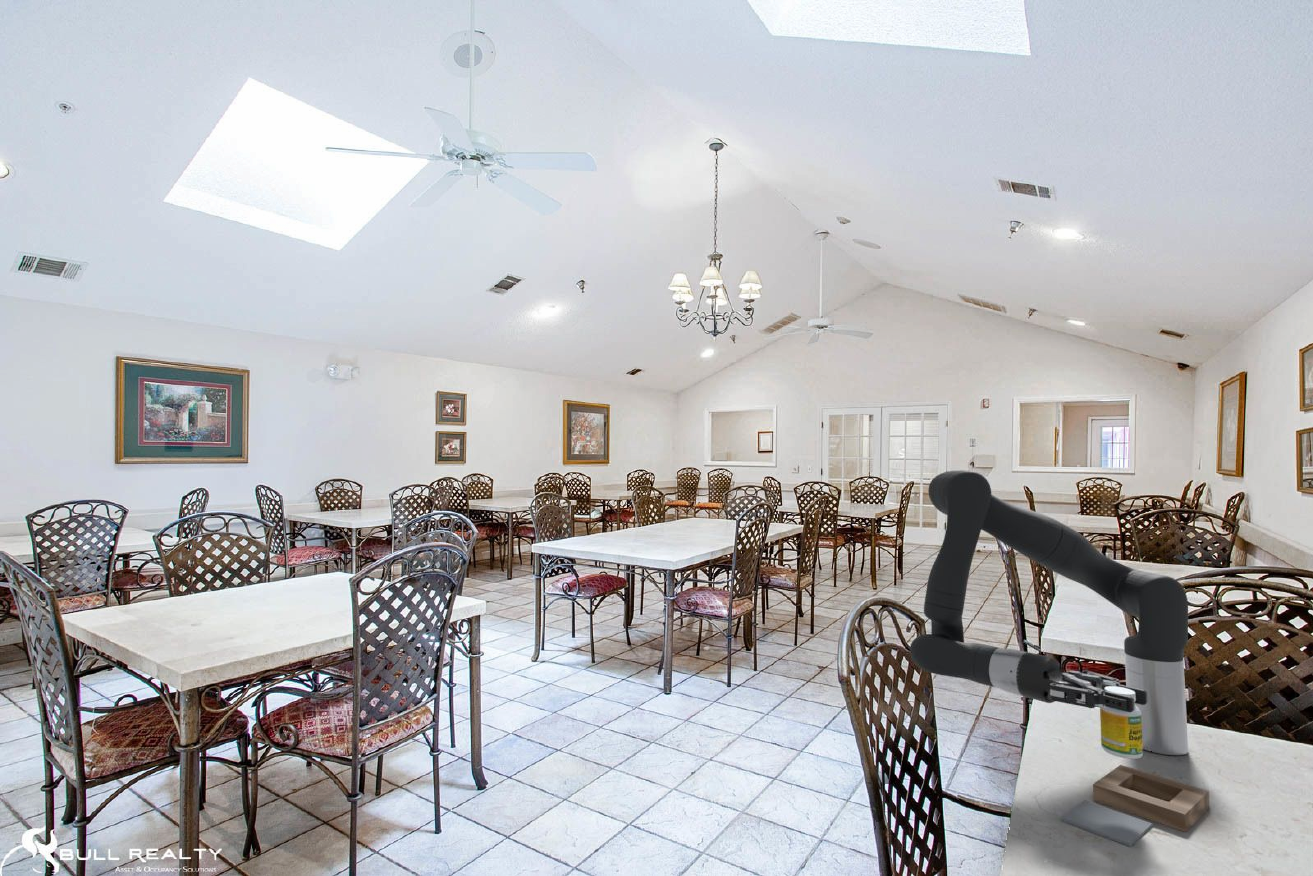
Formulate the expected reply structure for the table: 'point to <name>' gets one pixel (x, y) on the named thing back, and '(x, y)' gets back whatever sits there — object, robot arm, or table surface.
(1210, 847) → the table surface
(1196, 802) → the socket block
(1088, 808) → the rubber mat
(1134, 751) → the supplement bottle
